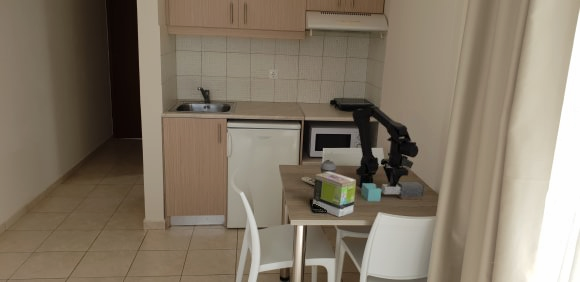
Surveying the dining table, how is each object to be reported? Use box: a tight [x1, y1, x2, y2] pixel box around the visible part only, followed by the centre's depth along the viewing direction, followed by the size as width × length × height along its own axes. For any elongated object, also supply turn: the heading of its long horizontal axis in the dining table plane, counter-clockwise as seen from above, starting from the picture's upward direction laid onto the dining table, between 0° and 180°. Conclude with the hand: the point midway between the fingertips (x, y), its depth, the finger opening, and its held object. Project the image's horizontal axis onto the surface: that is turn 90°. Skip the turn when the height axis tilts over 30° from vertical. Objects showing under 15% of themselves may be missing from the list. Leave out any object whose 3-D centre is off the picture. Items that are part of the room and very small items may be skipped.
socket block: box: [360, 182, 382, 202], centre depth 211 cm, size 6×9×6 cm, turn 11°
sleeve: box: [396, 181, 425, 201], centre depth 215 cm, size 11×5×7 cm, turn 101°
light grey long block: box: [380, 176, 402, 195], centre depth 213 cm, size 17×4×8 cm, turn 101°
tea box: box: [312, 171, 357, 218], centre depth 192 cm, size 15×10×15 cm
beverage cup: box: [320, 151, 337, 173], centre depth 213 cm, size 7×7×20 cm
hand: (392, 184), depth 212 cm, fingers open, 6 cm apart
